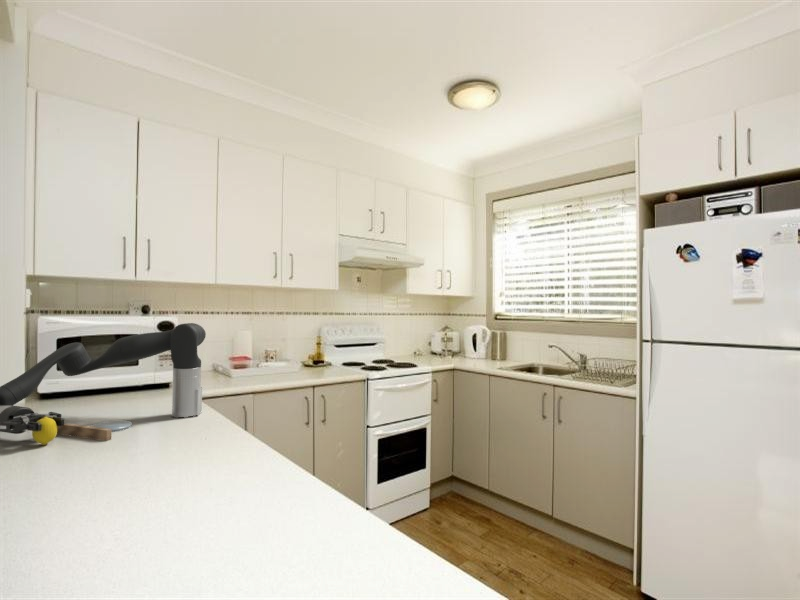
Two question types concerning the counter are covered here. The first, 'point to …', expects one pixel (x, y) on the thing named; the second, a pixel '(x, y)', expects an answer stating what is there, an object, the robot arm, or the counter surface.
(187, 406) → the robot arm
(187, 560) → the counter surface
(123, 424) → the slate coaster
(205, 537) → the counter surface
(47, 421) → the lemon
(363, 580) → the counter surface
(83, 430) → the walnut wall
